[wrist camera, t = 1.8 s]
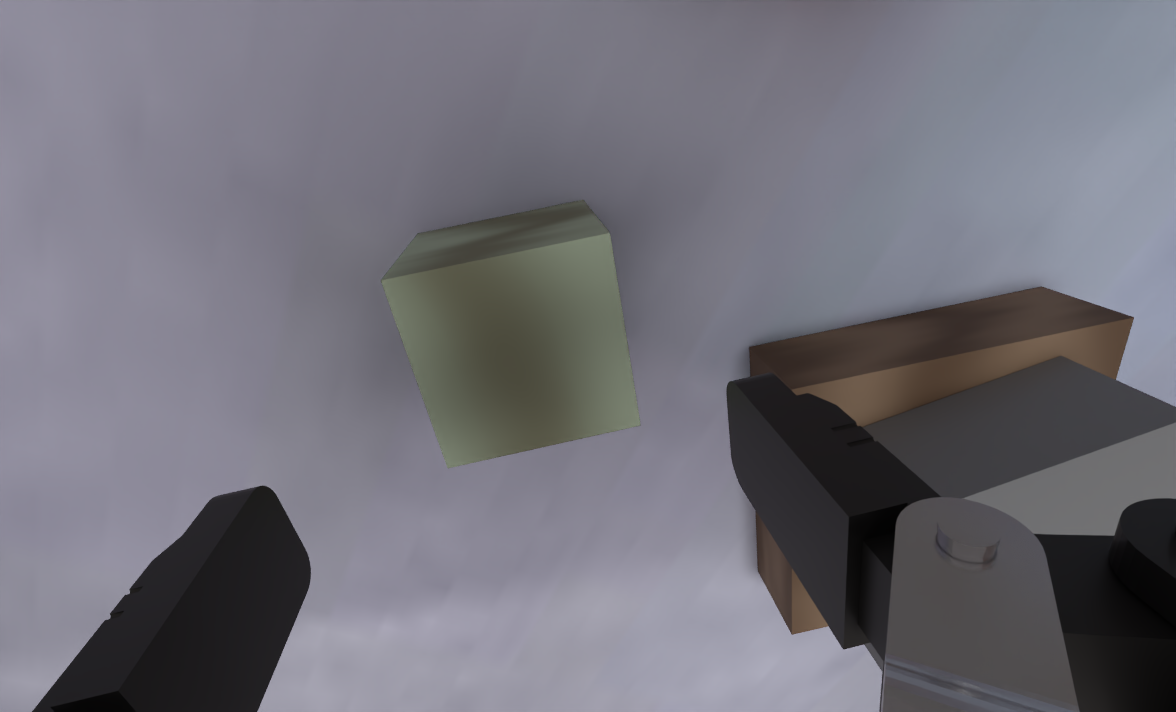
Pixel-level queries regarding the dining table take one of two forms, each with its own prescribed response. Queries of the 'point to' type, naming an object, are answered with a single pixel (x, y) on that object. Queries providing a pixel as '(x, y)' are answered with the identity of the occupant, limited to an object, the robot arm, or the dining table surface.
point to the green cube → (515, 332)
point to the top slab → (1042, 448)
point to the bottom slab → (926, 376)
